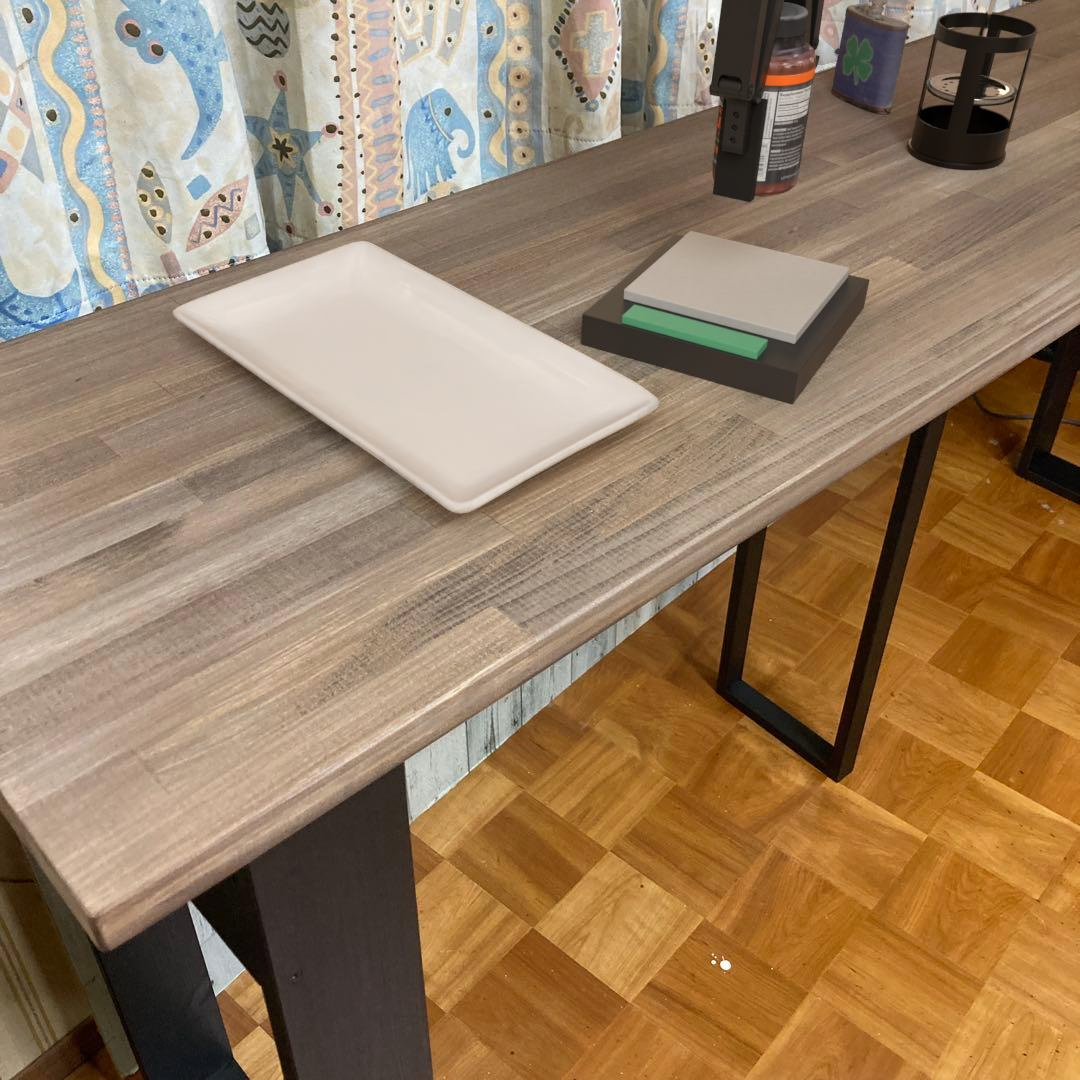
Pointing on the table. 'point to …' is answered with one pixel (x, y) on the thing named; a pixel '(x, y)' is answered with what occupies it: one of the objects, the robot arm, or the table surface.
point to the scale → (729, 314)
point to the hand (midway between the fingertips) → (751, 179)
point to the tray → (418, 371)
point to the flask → (869, 57)
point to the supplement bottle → (784, 105)
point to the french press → (970, 93)
